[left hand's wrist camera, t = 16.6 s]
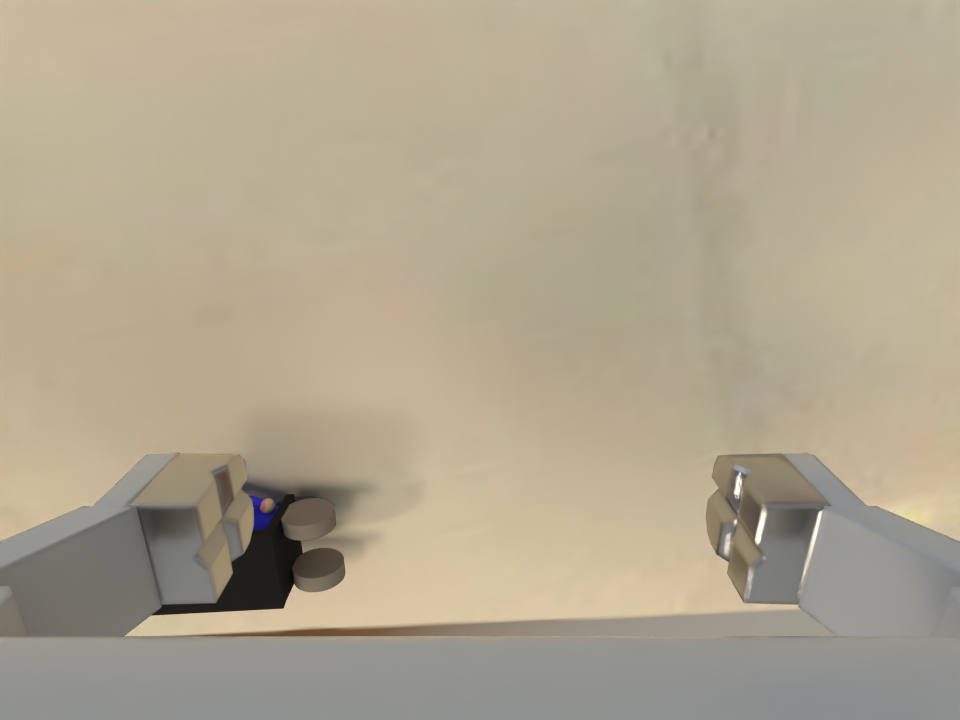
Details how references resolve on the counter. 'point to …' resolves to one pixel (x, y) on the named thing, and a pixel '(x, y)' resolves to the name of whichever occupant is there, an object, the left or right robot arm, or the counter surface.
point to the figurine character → (277, 558)
